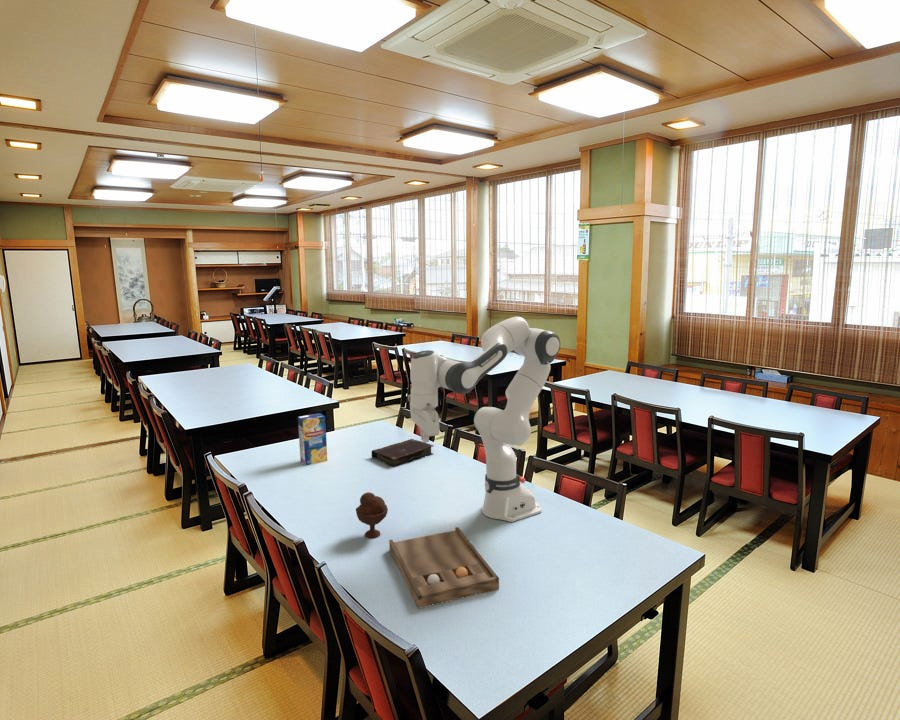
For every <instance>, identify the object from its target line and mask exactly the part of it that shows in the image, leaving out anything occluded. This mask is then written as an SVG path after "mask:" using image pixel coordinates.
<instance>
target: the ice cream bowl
mask: <svg viewBox="0 0 900 720" xmlns="http://www.w3.org/2000/svg"><path fill="white" fill-rule="evenodd" d="M359 502H360V505H358V506H357V507H356V508H355V513H356V517H357V519H358V520H359V521H360V522H361V523H363V524H364V525H367V526H369V530H367V531H365V533H364V537H365V538H367V539H369V540H370V539H371V540H372V539H373V540H374V539H377V538H379V537H380V536H381V531H380V530H377V529H376V525H378V524H379V523H381V522H382V521H383V520H384V519H385V518H386V517H387V514H388V511H389V508H388V506H387V504H386V502H385V500H384V499H383V498H382V497H381V496H378V495H375V494H374V493H373V492H364V493H363V494H362V495H361V496H360V499H359Z"/></svg>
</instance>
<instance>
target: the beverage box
mask: <svg viewBox="0 0 900 720" xmlns="http://www.w3.org/2000/svg"><path fill="white" fill-rule="evenodd" d="M326 422H327V421H326V416H325V415H324V414H322V413H320V412H318V413H314V414H307V415H302V416H301V415H300V416H297V423H298V425H297V427H298V440H299V443H298V444H299V456H300V458H299V459H300V462H301V463H302V464H303V465H304V466H311V465H314V464H319V463H324V462H328V447H327V445H328V444H327V427H326V426H327V425H326Z"/></svg>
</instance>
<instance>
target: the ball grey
mask: <svg viewBox="0 0 900 720" xmlns="http://www.w3.org/2000/svg"><path fill="white" fill-rule="evenodd" d="M435 583H440V579H439V577H438V576H437V575H436V574H431V575H430V576H429V577H428V579H427V584H428V585H431V584H435Z"/></svg>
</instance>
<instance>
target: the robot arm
mask: <svg viewBox="0 0 900 720" xmlns="http://www.w3.org/2000/svg"><path fill="white" fill-rule="evenodd" d="M480 345H481V349H482V351H483V352H482V353H480V354H479V355H478V356H477V357H475V358H474V359H473V360H471V361H459V360H454V359H450V358H448V357H444V356H442V355H439V354H437V353H436V352H435V351H434V350H429V349H428V350H421V351H418V352H416V353H415V354H413V355H412V358H411V359H410V369H409V370H410V371H409V373H410V377H409V378H410V383H411V389H410V394H408V395H407V399H408V402H409V409H410V410H409V411H410V418H411V421H412V422H413V423H414V424H415V425H416V426H417V427H418V428H419V434H420V439H421V440H420V441H422V442H424V443H429V442H430V437H435V436H439V435H440V416H439V413H438V411H437V410H436V409H435V408H437V407H438V406H439V397H438V396H439V392H438V391H439V388H444V389H447V390H450V391H452V392H454V393H456V394H458V395H467V394H469V393H470V392H472V390H474V388H475V387H476V385H477V384H478V383H479V381H480V380H481V379H483V377H485V376H486V375H487V374H488V373H490V372H491V371H492V370H494V369H495V368H496V367H497V366H498V365H499V364H501V363H502V362H503V361H504V360H505V359H506V357H507V356H508V354H510V353H511V352H512V353H514V354H515V355H518V356H523V357H524V360H523V363H522V365H521V366H520V368H519V369H518V370H517V372H516V373H515V375H514V377H513V379H512V380H511V381H510V383H509V384H508V386H507V388H506V390H505V397H506V399H507V401H506V405H505V408H504V409H500V408H497V407H493V406H483V407H480V408H479V409H478V410H477V411H476V412H475V415H474V416H473V417H474V418H473V423H474V427H475V428H476V430H477V431H478V433H479V435H480V437H481V441H482V444H483V449H484V453H485V463H486V464H485V466H486V467H485V468H486V471H485V475H484V489H485V493H484V498H483V499H484V500H483V504H482V507H481V512H482V513H483V515H485V516H486V517H489V518H491V519H496V520H500V521H501V520H503V521H505V522H509V523H510V522H512V523H513V522H515V521H518V520H519V521H520V520H522V519H525V518H528V517H530V516H531V517H532V516H534V515H538V514H540V513H542V507H541V505H540V503H538V501H536V497H535V495H534V493H533V492H532V491H531V489H528V487H526V486H525V485H523V484H524V483H525V482H526V478H525V477H523V476H520V475H519V474H518V473H517V455H516V453H515V451H514V449H512V447H511V446H515V447H516V446H518V447H520V446H523V445H525V444H526V443H528V441H529V439H530V437H531V435H532V434H531V433H532V427H531V426H532V425H531V424H530V414H531V410H532V407H533V404H534V403H535V401H536V400H537V398H538V396H539V394H540V393H541V391H542V389H543V388H544V386H545V384H546V383H547V380H548V377H549V374H550V372H551V367H552V366H551V363H552V362H553V361H554V360H555V358H557V356H558V354H559V353H560V351H561V339H560V337H559V335H558V334H556V333H555V332H554V331H550V330H549V329H547V330H545V329H542V328H536V327H530V325H529V324H528V322H527V321H526V319H525V318H523V317H520V316H512V317H510V318H507V319H504V320H502V321H500V322H498V323H496V324H494V325H492V326H491V327H489V328H488V329H486V330H485V331H484V332H483V334H482V335H481V339H480Z"/></svg>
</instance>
